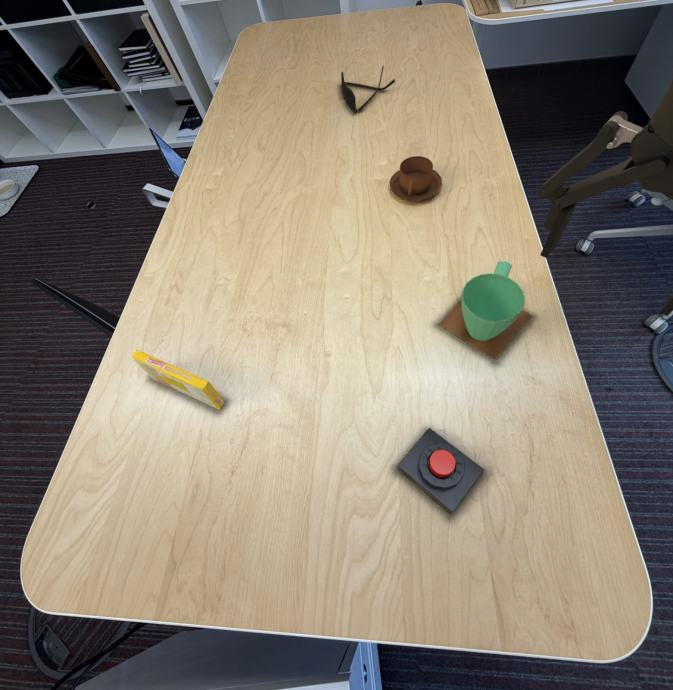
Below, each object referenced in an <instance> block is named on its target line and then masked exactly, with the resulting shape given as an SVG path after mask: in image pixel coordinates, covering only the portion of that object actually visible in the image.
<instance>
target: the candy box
mask: <svg viewBox="0 0 673 690" xmlns="http://www.w3.org/2000/svg"><path fill="white" fill-rule="evenodd" d="M130 358H131V359H132V360H133V361H134V362H135V363H136V364H137V365H139V367H140V368H142V370H143V371H144V372H146V374H148V376H149V377H150V378H151V379H152V380H154V381H157V382H159V383H161V384H163V385H165V386H167V387H169V388H171V389H174V390H175V391H177V392H180V393H182V394H183V395H186V396H188V397H190V398H193V399H195V400H197V401H199V402H201V403H203V404H205V405H207V406H209V407H211V408H214V409H216V410H218V411H220V410H221V409H222V407H223V406H224V405H225V400H224V399H223V397H221V395H220V394H219V392H218V391H217V390H216V388H215V387H214V386H213V385H212V383H211V382H210V381H209V380H207V379H204V378H202V377H199V376H198V375H195V374H193V373H190V372H188V371H186V370H184V369H182V368H179V367H178V366H175V365H173V364H170V363H168V362H166V361H164V360H161V359H159V358H156V357H155V356H152V355H150V354H148V353H145V352H143V351H141V350H139V349H136V350H135V351H134V352H133V353H132V354H131V355H130Z"/></svg>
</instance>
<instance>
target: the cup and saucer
mask: <svg viewBox="0 0 673 690" xmlns="http://www.w3.org/2000/svg"><path fill="white" fill-rule="evenodd" d="M442 183H443V180H442V177H441V175H440V174H439V173H438V171H436V170H434V164H433V161H431V160H430V159H429V158H428V157H425V156H421V155H414V156H409V157H406V158H405V159H403V160H402V161H401V163H400V165H399V170H397V171H396V172H395V173H393V174H392V176H391V177H390V179H389V188H390V191H391V193H393V195H394V196H395V197H397V198H398V199H401V200H403V201H406V202H413V203H414V202H415V203H416V202H422V201H426V200H429V199H431V198H432V197H434V196H436V195H437V194H438V193H439V192H440V190H441V187H442Z"/></svg>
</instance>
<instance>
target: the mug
mask: <svg viewBox="0 0 673 690" xmlns="http://www.w3.org/2000/svg"><path fill="white" fill-rule="evenodd" d="M512 267H513V266H512V264H511V263H510V262H508V261H502V260H500V261H498V262H497V264H496V267H495V269H494V272H493V273H492V272H491V273H481V274H479V275H476V276H473V277H472V278H471V279H469V280H468V281H467V282H466V283H465V284H464V287H462V291H461V298H460V301H461V303H462V313H463V317H464V321H465V325H466V328H467V330H468V332H469V334H470V335H471V337H473V338H474V339H476V340H478V341H488V340H490V339H492V338H494V337H496V336H497V335H499V334H500V333H501V332H503V331H504V330H505V329H506V328H507V327H508V326H510V325H511V324H512V323H513V322H514V320H515V319H516V318H517V317H518V316H519V315H520V313H521V311H522V310H523V309H524V307H525V305H526V295H525V293H524V290H523V288H521V286H520V285H519V284H518V282H516V281H514V280H513V279H512V278H510V277H509V275H510V272H511V270H512Z"/></svg>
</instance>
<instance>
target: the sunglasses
mask: <svg viewBox="0 0 673 690" xmlns="http://www.w3.org/2000/svg"><path fill="white" fill-rule="evenodd" d="M384 68H385V67H384V65H383V64H382V66H381V70H380V77H379V82H378V86H377V87H375V86H370V85H366V84H361V83H354V82H349V81H345V75H344V71H341V72H340V79H341V91H342V92H341V93H342V96H343V99H344V101H345V102H346V105H347V107H348V108H349V109H350V110H351V111H352V112H353V113H354V114H356V113H358V112H360V111H362V109H364V107H365V106H367V104H368V103H370V102H371V100H372V99H373V98H374V97H375V95H376V94H377V93H378V91H379V92H380V91H384V90H387V89H388V88H389V87H391V86H392V85H394V84H395V83H396V79H395V78H393V79H392V80H391V81H390V82H388V83H387V84H386V85H385V86H383V87H380V86H381V84H382V83H381V82H382V79H383V74H384V73H383V72H384ZM348 86H352V87H353V86H354V87H358V88H364V89H370V90H374V92H373V94H372V95H371V96H369V98H367V100H366V101H365V102H364V103H363V104H362V105H361V106H360V107H359V108H357V102H356V101H357V100H356V95H355V93H354V91H353V90H352V89H351V88H350V87H348Z"/></svg>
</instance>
